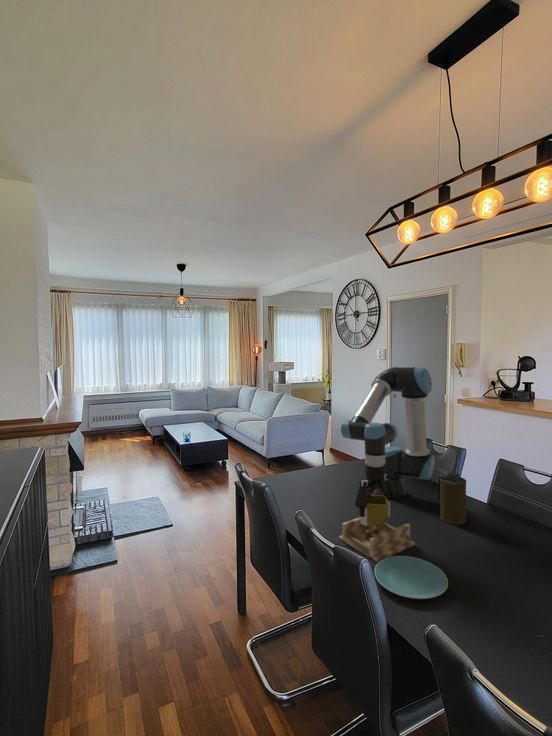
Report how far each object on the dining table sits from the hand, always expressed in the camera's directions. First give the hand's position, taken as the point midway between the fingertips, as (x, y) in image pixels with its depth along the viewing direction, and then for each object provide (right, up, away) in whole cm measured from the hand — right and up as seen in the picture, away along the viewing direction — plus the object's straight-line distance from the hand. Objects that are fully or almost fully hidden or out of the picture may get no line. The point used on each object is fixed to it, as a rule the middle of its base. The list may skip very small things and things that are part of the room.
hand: (375, 520), depth 149 cm
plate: (+5, -10, -25) cm, 28 cm away
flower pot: (0, -1, 0) cm, 1 cm away
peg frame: (0, -9, +1) cm, 9 cm away
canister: (+38, -7, +18) cm, 42 cm away
